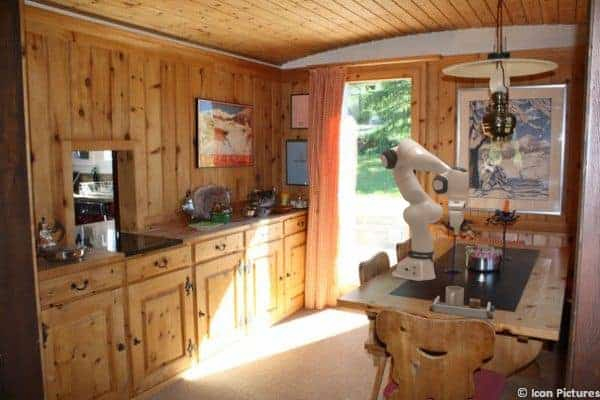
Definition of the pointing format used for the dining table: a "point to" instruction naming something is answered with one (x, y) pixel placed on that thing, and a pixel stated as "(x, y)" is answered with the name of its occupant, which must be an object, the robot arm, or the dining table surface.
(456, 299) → the cup
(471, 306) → the walnut block
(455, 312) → the cart frame
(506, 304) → the dining table surface
